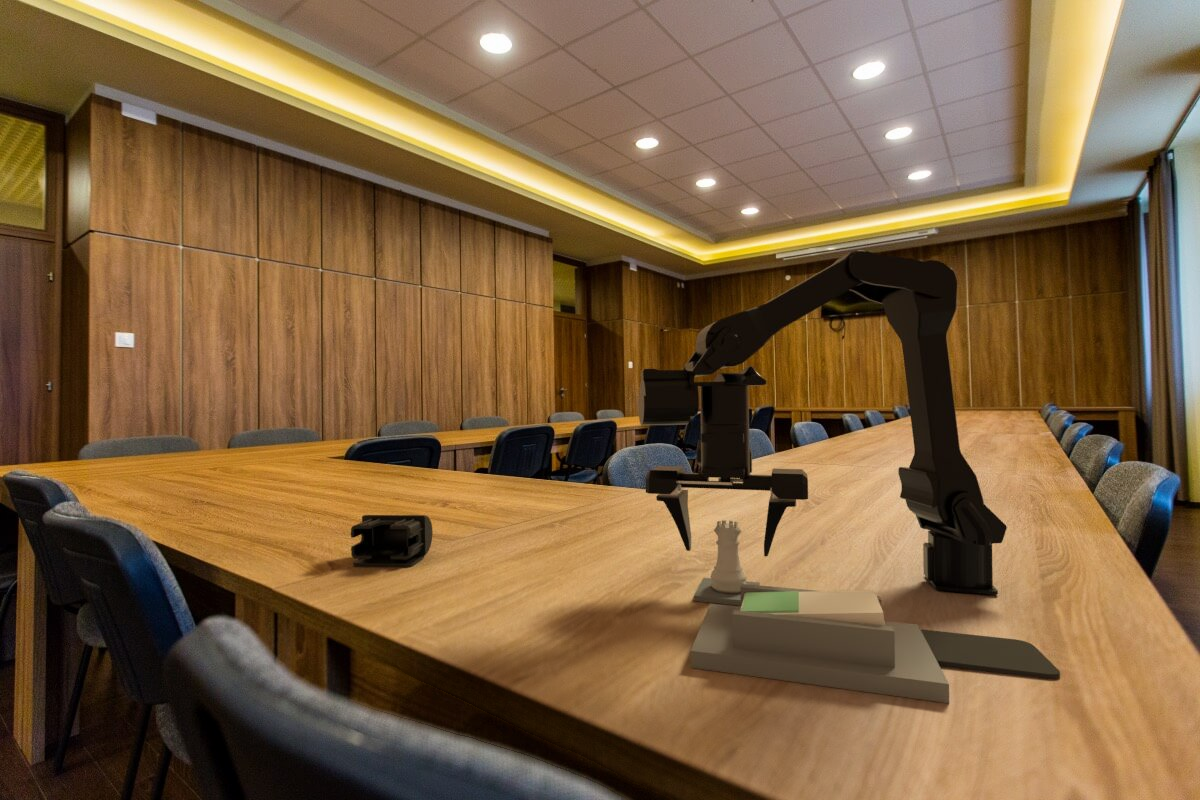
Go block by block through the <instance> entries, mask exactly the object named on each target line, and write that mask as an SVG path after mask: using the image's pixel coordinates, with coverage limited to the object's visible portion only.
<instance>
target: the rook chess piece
mask: <svg viewBox="0 0 1200 800" xmlns="http://www.w3.org/2000/svg"><path fill="white" fill-rule="evenodd" d="M728 521H729V522H728V523H727V520H721V521H720V520H719V521H717V522H716V527H715V528H714V529H713V531H714V533H715V534H716V536H717V541H716V545H717V558H716V563H715V565H714V566H713V570H712V571H711V573H710V578H712V580H713V581H712V582H710V585H711V586H712V588H713V589H714V590H715V591H718V592H721V593H728V594H735V593H741V590H740V587H741V584H746V583H745V581H746V580H747V574H746V573H745V571H744V568H743V567H742V565H741V560H740V556H739V546H740V545H741V544H740V541H739V540H738V537H739V536H740V534H741V533H742V530H741V528H740V527H739V522H738V521H734V520H728Z"/></svg>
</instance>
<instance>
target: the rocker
mask: <svg viewBox="0 0 1200 800" xmlns="http://www.w3.org/2000/svg"><path fill="white" fill-rule="evenodd" d="M876 593H877V592H876V591H875V589H850V590H849V589H847V590H845V589H844V590H843V589H842V590H816V591H808V592H798V591H783V592H750V593H745V595H744V599H743V602H742V606H740V607H741V610H740V611H747V612H756V613H766V614H776V615H785V616H795V617H805V618H814V619H824V620H834V621H843V622H853V623H863V624H873V625H882V626H885V621H886V620H885V615H884V610H883V609H882V605H881V606H880V603H879V601H878V598H877V596H878V595H877V594H876Z"/></svg>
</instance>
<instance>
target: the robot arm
mask: <svg viewBox="0 0 1200 800" xmlns="http://www.w3.org/2000/svg"><path fill="white" fill-rule="evenodd" d="M958 285H959V283H958V278H957V275H956V272H955V270H954V269H953V268H952V267H950V266H948V265H947V264H946V263H944V262H942V261H939V260H935V259H934V260H931V259H930V260H926V261H922V260H919V259H915V258H909V257H901V256H900V257H899V256H890V255H882V254H878V253H875V252H871V251H868V250H863V249H861V250H860V249H857V250H854V251H851V252H849V253H847V254H846V255H844V256H842V257H840V258H838V259H837V260H835V261H834V262H833V263H832V264H831V265H829V266H827V267H826V268H824V269H823V270H821V271H819V272H817V273H815V274H813V275H812V276H810V277H808V278H807V279H805V280H803V281H801V282H799V283H798V284H796V285H794V286H793V287H791V288H788V289H787V290H786V291H784V292H783V293H782V292H781V294H778V295H777V296H775V297H773V298H772V299H770V300H768V301H767V302H764V303H763V304H760V305H758V306H755V307H751V308H748V309H745V310H742V311H739V312H737V313H734V314H731V315H729V316H726V317H723V318H720V319H719V320H717V321H714V322H712V323H711V324H709V325H707V326H705V327H703V328H702V329H701V330H700V332H699V333H698V334H697V337H696V341H695V351H694V353H693V354H692V355H691V357H690V358H689V359H688V361H687V362H686V363H685V364H684V366H683V368H682V369H665V370H664V369H658V368H657V369H656V368H644V369H643V368H642V370H641V371H640V373H641V376H640V377H641V378H640V379H641V380H640V382H639V383H640V385H639V395H638V396H637V406H638V407H637V408H638V410H637V411H638V419H639V424H640V426H675V425H677V426H678V425H679V426H680V425H682V426H683V425H684V426H685V425H689V422H690V420H691V418H693V417H696V416H698V413H699V407H700V440H697V445H696V446H697V447H696V456H695V460H696V463H697V465H698V466H699V467H701V472H686V469H685V466H681V465H679V466H678V465H677V466H675V465H657V466H655V467H654V468H651V469H650V470H649V471H648V472H647V473H646V474H645V475H646V476H645V493H646V494H650V495H651V494H653V495H654V494H655V495H656V494H657V495H656V496H655V497H656V501H658V502H663V503H664V505H665V506H666V508H667V510H668V513H670V515H671V517H672V519H673V521H674V523H675V525H676V528H677V530H678V532H679V535H680V538H681V541H682V543H683V545H684V547H685V550H686V551H687V552H689V551H691V549H692V531H691V522H690V514H689V503H688V501H689V500H688V499H689V489H713V490H714V489H715V490H718V489H719V490H737V491H738V490H741V491H743V490H744V491H745V490H746V491H769V492H770V495H769V496H770V497H769V500H768V506H767V508H768V509H767V513H766V514H767V516H766V523H765V532H764V540H763V554H764V555H763V556H764V557H768V556H769V553H770V550H771V546H772V543H773V541H774V537H775V535H776V531H777V528H778V526H779V523H780V521H781V520H782V518H783V516H784V513H785V511H786V509H787V508H794V507H796V506H797V500H798V501H799V500H800V501H801V500H803V501H804V500H805V501H806V500H808V499H809V479H808V473H807V472H805V470H803V469H801V468H800V469H799V468H772V470H771V474H752V472H753V453H752V449H751V448H750V447H751V446H750V410H749V407H750V406H749V401H750V399H749V387H755V386H757V387H758V386H765V385H766V384H767V379H766V378H764V377H762V376H761V375H760V374H759V373H758V372H757V370H756V369H755V368H754V367H753V366H752V365H749V366H745V367H744V368H743V369H742V370H741V372H719V373H717V375H716V377H715V379H714V381H695V378H697V377H704V376H705V377H706V376H710V375H711V376H712V375H713V374H715V372H717V371H718V370H720V369H721V370H722V369H725V368H726V369H727V368H731V367H736V366H739V365H742V364H743V363H745V362H746V361H747V360H749V358H751V357H752V356H753V355H755V354H756V353H757V352H758V351H759V350H760V349H761V348H763V347H764V346H765V345H766V344H767V343H768V342H769V341H770V340H771V339H772V337H774V336H775V335H776V334H777V333H779V332H780V331H781V330H782V329H783V328H786V327H787V326H789V325H791V324H793V323H794V322H797V321H798V320H800V319H802V318H803V317H804V316H806V315H809V314H810V313H811V312H813V311H815V310H817V309H818V308H820V307H822V306H824V305H825V304H827V303H829V302H830V301H832V300H834V299H835V298H838V297H839V296H841V295H842V294H845V293H846V292H848V291H850V292H853V293H855V294H856V295H858V296H860V297H862V298H863V299H865V300H867V301H870V302H874V303H876V304H881V305H882V306H883V310H884V313H885V317H886V319H887V322H888V324H889V325H890V326H891V328H892V329H893V330H894V332H895V334H896V335H897V337H898V338H899V339H900V343H901V348H902V356H903V364H904V373H905V381H906V389H907V396H908V397H907V398H908V406H909V414H910V415H909V416H910V422H911V423H910V425H911V429H912V438H913V447H914V451H913V452H914V454H913V457H912V459H911V461H910V464H909V466H908V467H907V466H906V467H905V466H904V467H903V466H900V467H898V473H897V474H898V476H899V480H900V485H901V491H900V494H899V495H900V496H899V497H900V499H902V500H904V501H905V502H906V503H905V504H906V507H907V508H908V510H909V511H910V512H911V513H913V514H914V515H915V517H916V520H917V522H918V524H919V527H920V528H921V529H923V530H928V531H927V542H924V543H923V544H922V545H923V546H922V547H923V548H922V551H923V552H922V553H923V558H922V559H923V560H922V561H923V562H922V563H923V575H924V577H926V579H927V580H928V581H929V582H930V584H931V585H932V587H933V588H934V589H935V590H938V591H946V592H957V593H971V594H982V595H993V596H994V595H999V590H998V588H996V587H995V586H994V584H993V583H994V581H993V580H994V579H993V578H994V577H993V571H994V570H993V545H994V544H1001V543H1003V541H1004V538H1005V535H1006V532H1007V528H1008V527H1007V525H1006V524H1005V522H1003V521H1002V520H1001V519H1000V517H998V516H997V514H995V513H994V512H993V511H992V510H991V509H990V508H989V507H988V505H986V504H985V501H984V497H983V493H982V490H981V487H980V483H979V480H978V476H977V474H976V473H975V472H974V470H973V468H972V466H970V463H968V461H967V460H966V458H965V457H964V455H963V454H962V452H961V451H962V450H961V447H960V440H959V432H958V431H959V430H958V421H957V414H956V413H957V411H956V405H955V404H956V403H955V397H954V389H953V388H954V387H953V382H952V371H951V363H950V354H949V348H948V339H947V338H948V337H947V336H948V331H949V329H950V326H951V324H952V321H953V319H954V316H955V313H956V311H957V308H958V307H957V305H958V287H959V286H958ZM699 389H700V391H699ZM699 394H700V396H699ZM699 399H700V400H699ZM710 478H715V479H716V478H717V480H710ZM685 488H689V489H685Z"/></svg>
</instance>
